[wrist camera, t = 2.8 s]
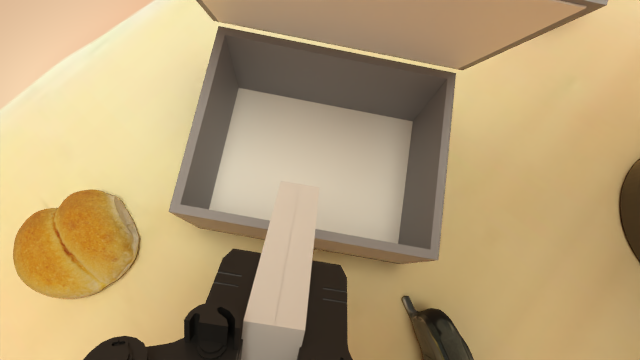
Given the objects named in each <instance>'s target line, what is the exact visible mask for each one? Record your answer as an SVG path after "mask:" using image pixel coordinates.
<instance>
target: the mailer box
mask: <svg viewBox="0 0 640 360" xmlns="http://www.w3.org/2000/svg"><path fill="white" fill-rule="evenodd" d="M455 77H456V73H452V72H447V71H442V70H437V69H432V68H427V67H421V66H416V65H411V64H406V63H401V62H396V61H391V60H386V59H381V58H376V57H371V56H366V55H361V54H356V53H351V52H346V51H341V50H336V49H331V48H326V47H321V46H316V45H311V44H306V43H301V42H296V41H290V40H285V39H280V38H275V37H270V36H265V35H260V34H255V33H250V32H245V31H240V30H235V29H230V28H225V27H220V26H219V27H218V30H217V34H216V38H215V42H214V45H213V49H212V53H211V56H210V60H209V64H208V68H207V71H206V75H205V79H204V82H203V86H202V90H201V94H200V97H199V101H198V105H197V108H196V112H195V116H194V120H193V123H192V127H191V131H190V134H189V138H188V142H187V146H186V149H185V153H184V157H183V160H182V164H181V168H180V172H179V175H178V179H177V183H176V186H175V190H174V194H173V198H172V201H171V205H170V209H169V212H170V213H172V214H174V215H176V216H178V217H180V218H182V219H183V220H185V221H187V222H189V223H191V224H193V225H195V226H197V227H198V228H203V229H209V230H214V231H220V232H225V233H231V234H236V235H242V236H248V237H253V238H259V239H264V240H265V238H266V235H267V231H268V227H269V223H270V220H271V216H272V212H273V209H274V205H275V201H276V197H277V194H278V190H279V186H280V183H281V181H286V182H291V183H297V184H303V185H309V186H315V187H320V188H319V198H318V208H317V218H316V228H315V238H314V247H313V248H315V249H320V250H326V251H331V252H337V253H342V254H348V255H354V256H359V257H365V258H370V259H376V260H381V261H387V262H393V263H398V264H405V263H415V262H425V261H435V260H438V257H439V247H440V236H441V225H442V215H443V204H444V194H445V183H446V172H447V162H448V151H449V141H450V130H451V119H452V109H453V98H454V88H455Z"/></svg>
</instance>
